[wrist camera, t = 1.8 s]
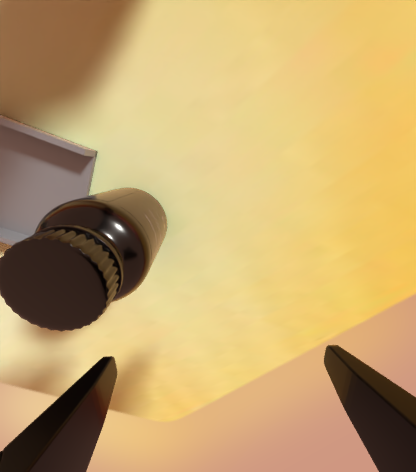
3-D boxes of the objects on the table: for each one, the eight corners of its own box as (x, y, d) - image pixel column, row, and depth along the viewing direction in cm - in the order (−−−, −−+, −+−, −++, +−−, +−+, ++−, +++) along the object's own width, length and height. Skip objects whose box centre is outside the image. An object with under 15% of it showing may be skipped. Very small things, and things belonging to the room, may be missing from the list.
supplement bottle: (107, 256, 21) (0, 355, 10) (91, 189, 19) (-68, 217, 8) (173, 251, 21) (141, 343, 10) (164, 184, 19) (111, 204, 8)
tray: (97, 151, 18) (85, 149, 16) (77, 253, 21) (64, 261, 19) (-74, 86, 16) (-111, 75, 14) (-71, 207, 19) (-101, 211, 17)
